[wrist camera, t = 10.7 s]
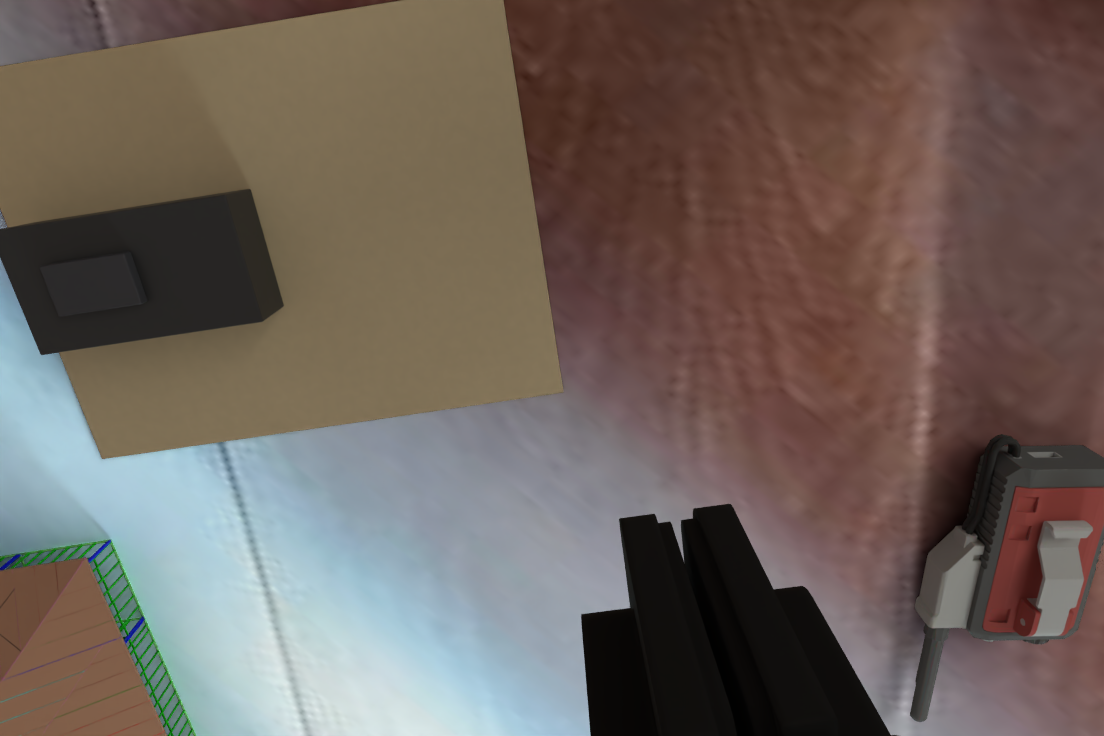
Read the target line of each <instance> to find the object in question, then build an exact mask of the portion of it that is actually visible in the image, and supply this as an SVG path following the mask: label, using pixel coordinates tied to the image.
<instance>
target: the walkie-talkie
mask: <svg viewBox="0 0 1104 736" xmlns="http://www.w3.org/2000/svg"><path fill="white" fill-rule="evenodd" d="M1006 444H1008V446H1004V445H1006ZM972 492H973V493H972V497H971V503H970V505H969V512H968V514H967V518H966V520H965V521H964V523H963V526H955V528H954V529H953V530H952V531H951V532H950V533H949V534H948V535H947V536H946V537H945V538H944V539H943V540H942V541H940V542H939V543H938V544H937V545H936V546H935V547H934V548H933V549H932V550H931V551H930V552H929V554H928V556H927V561H926V566H925V571H924V576H923V581H922V585H921V590H920V595H919V596H918V597H917V598H916V603H915V610H916V611H917V613H918V614H919V615H920V616H921V618H922V619H923V620H924V622H925V626H924V633H925V634H926V635H925V639H924V644H923V648H922V653H921V658H920V662H919V667H918V671H917V676H916V688H915V693H914V697H913V702H912V707H911V712H910V716H911V717H912V718H913V719H914V720H915V721H918V722H923V721H925V720H926V719H927V715H928V711H929V706H930V702H931V697H932V693H933V688H934V684H935V680H936V675H937V671H938V666H939V662H940V657H941V653H942V648H943V644H944V641H945V640H946V639H947V638H948V633H949V628H964V629H967V630H968V631H969V632H970V634H971V635H972V636H973V637H975V638H979V639H983V640H985V641H988V642H992V641H994V640H1023V641H1026V642H1029V643H1033V644H1044V643H1047V642H1048V641H1049V639H1065V638H1067V637H1069V636H1071V635H1072V634H1073V633H1074V632H1075V631H1077V630H1078V627H1079V624H1080V620H1081V617H1082V614H1083V610H1084V607H1085V604H1086V600H1087V597H1088V594H1089V590H1090V587H1091V583H1092V580H1093V577H1094V573H1095V570H1096V563H1097V562H1098V560H1099V559H1098V556H1099V554H1100V553H1101V551H1100V550H1101V547H1102V546H1103V540H1104V458H1103V457H1102V456H1100V455H1098V454H1097V453H1095V452H1093V451H1092V450H1090V449H1088V448H1087V447H1085V446H1083V445H1071V446H1020V444H1019V443H1018V441H1017V440H1015V439H1013V438H1012V437H1011V436H1007V435H1002V434H1001V435H997V436H995V437H994V438H993V439H991V440H990V442H989V444H988V445H987V447H986V449H985V453H984V454H983V455H982V456H981V457H980V462H979V464H978V471H977V473H976V480H975V481H974V488H973V490H972Z"/></svg>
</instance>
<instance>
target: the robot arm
mask: <svg viewBox="0 0 1104 736" xmlns="http://www.w3.org/2000/svg"><path fill="white" fill-rule="evenodd" d="M619 522H620V531H621V539H622V547H623V554H624V562H625V570H626V577H627V585H628V593H629V601H630V608H627V609H620V610H612V611H604V612H596V613H589V614H581V620H582V633H583V646H584V658H585V670H586V683H587V695H588V707H589V720H590V732H591V736H897V735H890V733H889V731H888V729H887V728H886V726H885V724H884V722H883V721H882V719H881V717H880V715H879V714H878V712H877V710H876V708H875V707H874V705H873V703H872V701H871V699H870V698H869V696H868V694H867V692H866V691H865V689H864V687H863V685H862V684H861V682H860V680H859V678H858V677H857V675H856V673H855V671H854V670H853V668H852V666H851V664H850V662H849V661H848V659H847V657H846V655H845V654H844V652H843V650H842V648H841V647H840V645H839V643H838V641H837V640H836V638H835V636H834V634H833V632H832V631H831V629H830V627H829V625H828V624H827V622H826V620H825V618H824V617H823V615H822V613H821V611H820V610H819V608H818V606H817V604H816V603H815V601H814V599H813V597H812V596H811V594H810V593H809V591H808V590H807V589H806V588H805V587H803V586H798V587H790V588H782V589H774V590H773V588H772V586H771V583H770V581H769V579H768V577H767V575H766V573H765V571H764V569H763V567H762V565H761V563H760V561H759V559H758V557H757V555H756V553H755V551H754V549H753V547H752V545H751V543H750V541H749V539H748V537H747V535H746V533H745V531H744V529H743V527H742V525H741V523H740V521H739V519H738V517H737V515H736V513H735V511H734V509H733V507H732V505H731V504H725V505H717V506H710V507H702V508H695V509H694V510H693V519H686V520H681V532H682V542H683V553H684V561H683V558H682V555H681V552H680V549H679V546H678V542H677V539H676V536H675V533H674V530H673V527H672V524H671V522H664V523H658V522H657V519H656V516H655V514H650V515H642V516H635V517H627V518H620V519H619ZM684 563H685V564H684Z"/></svg>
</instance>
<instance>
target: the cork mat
mask: <svg viewBox="0 0 1104 736" xmlns="http://www.w3.org/2000/svg"><path fill="white" fill-rule="evenodd" d="M244 189H251V192H252V195H253V199H254V202H255V206H256V209H257V213H258V216H259V220H260V223H261V227H262V230H263V234H264V237H265V241H266V244H267V248H268V251H269V255H270V258H271V262H272V265H273V269H274V272H275V276H276V279H277V283H278V286H279V290H280V293H281V297H282V300H283V304H284V307H282V308H281V309H279V310H278V311H277V312H275V313H274V314H273V315H271V316H270V317H268V318H267V319H266V320H264V321H263V322H259V323H252V324H245V325H239V326H232V327H225V328H219V329H212V330H205V331H199V332H192V333H185V334H179V335H172V336H165V337H159V338H152V339H145V340H139V341H132V342H125V343H119V344H112V345H105V346H99V347H92V348H85V349H79V350H72V351H65V352H59V354H60V356H61V359H62V361H63V364H64V366H65V369H66V371H67V374H68V376H69V379H70V381H71V384H72V386H73V388H74V391H75V393H76V396H77V398H78V401H79V403H80V406H81V408H82V411H83V413H84V415H85V418H86V420H87V423H88V425H89V428H90V430H91V433H92V435H93V438H94V440H95V443H96V445H97V447H98V450H99V452H100V455H101V457H102V459H106V458H113V457H120V456H127V455H134V454H141V453H148V452H155V451H162V450H169V449H176V448H182V447H189V446H196V445H203V444H210V443H217V442H224V441H231V440H238V439H245V438H252V437H258V436H265V435H272V434H279V433H286V432H293V431H300V430H307V429H314V428H321V427H328V426H335V425H341V424H348V423H355V422H362V421H369V420H376V419H383V418H390V417H397V416H404V415H411V414H417V413H424V412H431V411H438V410H445V409H452V408H459V407H466V406H473V405H480V404H487V403H494V402H500V401H507V400H514V399H521V398H528V397H535V396H542V395H549V394H556V393H563V385H562V379H561V372H560V366H559V359H558V353H557V346H556V340H555V333H554V327H553V320H552V314H551V307H550V301H549V294H548V288H547V281H546V275H545V268H544V262H543V255H542V249H541V242H540V236H539V229H538V223H537V216H536V210H535V203H534V197H533V190H532V184H531V177H530V171H529V164H528V158H527V151H526V145H525V138H524V132H523V125H522V119H521V112H520V106H519V99H518V93H517V86H516V80H515V73H514V67H513V60H512V54H511V47H510V41H509V34H508V28H507V21H506V15H505V8H504V1H503V0H401V1H395V2H388V3H382V4H376V5H370V6H364V7H358V8H352V9H346V10H340V11H334V12H328V13H322V14H315V15H309V16H303V17H297V18H291V19H285V20H279V21H273V22H267V23H261V24H255V25H249V26H243V27H236V28H230V29H224V30H218V31H212V32H206V33H200V34H194V35H188V36H182V37H176V38H170V39H163V40H157V41H151V42H145V43H139V44H133V45H127V46H121V47H115V48H109V49H103V50H97V51H90V52H84V53H78V54H72V55H66V56H60V57H54V58H48V59H42V60H36V61H30V62H24V63H17V64H11V65H5V66H0V209H1V211H2V214H3V216H4V219H5V221H6V224H7V226H8V228H9V227H14V226H19V225H23V224H28V223H33V222H40V221H46V220H52V219H59V218H65V217H71V216H78V215H84V214H91V213H97V212H103V211H110V210H116V209H123V208H129V207H135V206H142V205H148V204H154V203H161V202H167V201H174V200H180V199H186V198H193V197H199V196H206V195H212V194H218V193H225V192H231V191H237V190H244Z"/></svg>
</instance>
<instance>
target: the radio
mask: <svg viewBox="0 0 1104 736" xmlns="http://www.w3.org/2000/svg"><path fill="white" fill-rule="evenodd" d="M0 258H1V260H2V262H3V265H4V267H5V270H6V272H7V274H8V277H9V279H10V282H11V284H12V286H13V289H14V291H15V294H16V296H17V298H18V301H19V303H20V306H21V308H22V310H23V313H24V315H25V318H26V320H27V322H28V325H29V327H30V330H31V332H32V334H33V337H34V339H35V342H36V344H37V346H38V349H39V351H40V354H41V355H45V354H52V353H59V352H65V351H72V350H79V349H85V348H92V347H99V346H105V345H112V344H119V343H125V342H132V341H139V340H145V339H152V338H159V337H165V336H172V335H179V334H185V333H192V332H199V331H205V330H212V329H219V328H225V327H232V326H239V325H245V324H252V323H259V322H263V321H264V320H266V319H267V318H268V317H270V316H271V315H273V314H274V313H275V312H277V311H278V310H279V309H281V308H282V307H284V304H283V300H282V297H281V293H280V290H279V286H278V283H277V279H276V276H275V272H274V269H273V265H272V262H271V258H270V255H269V251H268V248H267V244H266V241H265V237H264V234H263V230H262V227H261V223H260V220H259V216H258V213H257V209H256V206H255V202H254V199H253V195H252V192H251V189H244V190H237V191H231V192H225V193H218V194H212V195H206V196H199V197H193V198H186V199H180V200H174V201H167V202H161V203H154V204H148V205H142V206H135V207H129V208H123V209H116V210H110V211H103V212H97V213H91V214H84V215H78V216H71V217H65V218H59V219H52V220H46V221H40V222H33V223H28V224H23V225H19V226H14V227H9V228H4V229H0Z"/></svg>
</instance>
